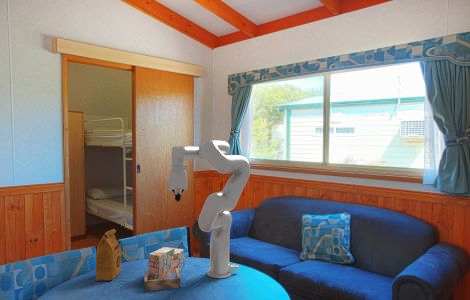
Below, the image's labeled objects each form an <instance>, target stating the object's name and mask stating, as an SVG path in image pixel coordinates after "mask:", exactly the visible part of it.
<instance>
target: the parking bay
mask: <svg viewBox="0 0 470 300" xmlns="http://www.w3.org/2000/svg"><path fill="white" fill-rule="evenodd" d="M181 278H182V277H181V275H180V270H178V269H175V273H174V277H171V278H169V277H167V278H165V279H157V280H150V279H148V271H147V270H144V279H143V280H144V284H143V285H144V286H143V287H144V292H146V291H148V292H149V291H157V290H169V289H179V288H182V287H181Z"/></svg>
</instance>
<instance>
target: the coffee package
mask: <svg viewBox="0 0 470 300" xmlns="http://www.w3.org/2000/svg"><path fill="white" fill-rule="evenodd" d="M116 233H117V230H116V229H115V228H112V229H110V230H108V231H106V232H105V233H104V234H103V236H102V237H101V239H100V241H99V242H98V245H97V246H96V251H95V281H97V282H99V281H113V280H115V278H116V277H117V276H119V274H121V271H122V248H121V245H120V244H119V241H118V240H117V238H116V235H115V234H116Z"/></svg>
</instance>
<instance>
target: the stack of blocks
mask: <svg viewBox="0 0 470 300" xmlns="http://www.w3.org/2000/svg"><path fill="white" fill-rule="evenodd" d="M185 257H186V256H185V249H182V248H176V247H167V246H163V247H162V248H159V249H157V250H155V251H152V252H150V253H148V273H147V280H157V279H167V278H169V277H171V276H172V274H175V269H178V271H181V270H182V269H184V268H185V261H186V260H185ZM183 267H184V268H183Z"/></svg>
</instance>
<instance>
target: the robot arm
mask: <svg viewBox="0 0 470 300" xmlns="http://www.w3.org/2000/svg"><path fill="white" fill-rule="evenodd" d="M230 153H231V146H230V144H229V143H228V142H227V141H225V140H217V139H216V140H215V139H214V140H213V139H209V140H206V141H205V142H202V143H201V144H200V145H181V146H177V145H176V146H175V145H174V146H172V148H171V170H170V171H169V175H168V189H167V190H168V191H169V192H172V193H174V200H175V201H176V202H180V201H181V200H182V193H183V192H186V191H189V189H188V173H187V170H188V168H189V166H187V165H186V161H190V160H191V161H194V160H196V161H197V160H207V162H208V163H209V164H210V165H211V166H212V168H213V169H214V170H215V171H216V172H217V173H219V174H224V175H225V174H226V175H227V174H232V175H231V176H230V177H229V178H228V180H227V181H226V183H225V185H224V187H223V189H222V191H218V192H213V193H211V194H209V195H208V196H207V197H206V199H205V201H204V204H203V206H202V209H201V211H200V214H199V217H198V223H197V224H198V227H199V229H200V230H201V231H202V232H204V233H210V232H211V234H210V238H209V240H210V241H209V269H207V270H206V275H207V276H208V277H209V278H212V279H225V278H229V277H231V276H232V275H233V271H234V270H240V266H239V264H231V263H230V242H231V241H230V240H231V238H230V237H231V228H232V224H233V217H232V213H231V212H230V211H233V210H234V209H235V208H236V207H237V204H238V202H239V199H240V197H241V194H242V193H243V191H244V188H245V187H246V184H247V182H248V181H249V179H250V175H251V164H250V162H249V160H248V158H246V157H245V156H243V155H241V154H240V155H239V154H231V155H229V154H230Z"/></svg>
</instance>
